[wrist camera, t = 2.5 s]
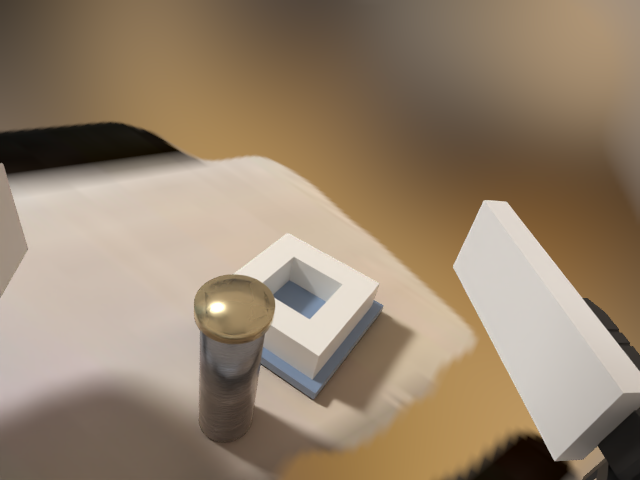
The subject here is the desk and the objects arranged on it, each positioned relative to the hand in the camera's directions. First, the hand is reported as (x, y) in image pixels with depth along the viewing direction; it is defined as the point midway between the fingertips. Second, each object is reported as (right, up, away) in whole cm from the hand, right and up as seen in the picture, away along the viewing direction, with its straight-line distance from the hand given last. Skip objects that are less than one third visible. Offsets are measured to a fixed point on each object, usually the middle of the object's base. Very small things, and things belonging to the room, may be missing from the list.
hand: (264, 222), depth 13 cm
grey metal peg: (-6, -15, +25) cm, 30 cm away
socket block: (-1, -9, +35) cm, 36 cm away
